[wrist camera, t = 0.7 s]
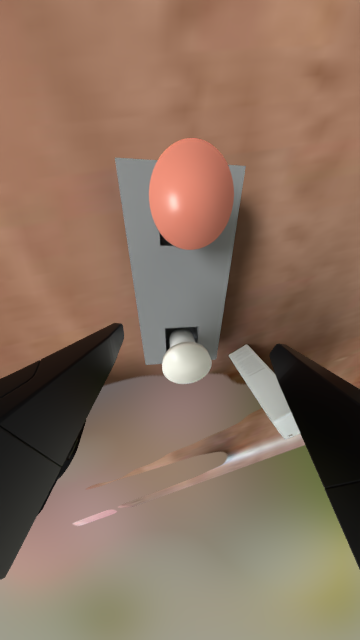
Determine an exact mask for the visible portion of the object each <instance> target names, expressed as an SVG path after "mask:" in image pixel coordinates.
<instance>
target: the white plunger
mask: <svg viewBox="0 0 360 640" xmlns="http://www.w3.org/2000/svg"><path fill="white" fill-rule="evenodd" d="M169 340H170V348H169V349H168V350H167V351H166V353H165V354H164V357H163V360H162V370H163V373H164V375H165V377H166V378H167V379H169V380H170V381H172V382H175V383H178V384H190V383H194V382H196V381H199V380H200V379H202V378H203V377H204V376H206V375H207V373H208V372H209V370H210V368H211V363H212V362H211V358H210V356H209V353H208V351H207V350H206V348H205V347H204V346H202V345H200V344H198V343H195V340H194V337H193V334H192V333H191V332H190V331H189V330H187V329H182V328H181V329H177V330H175V331H174V332H172V334H171V335H170V338H169Z"/></svg>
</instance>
